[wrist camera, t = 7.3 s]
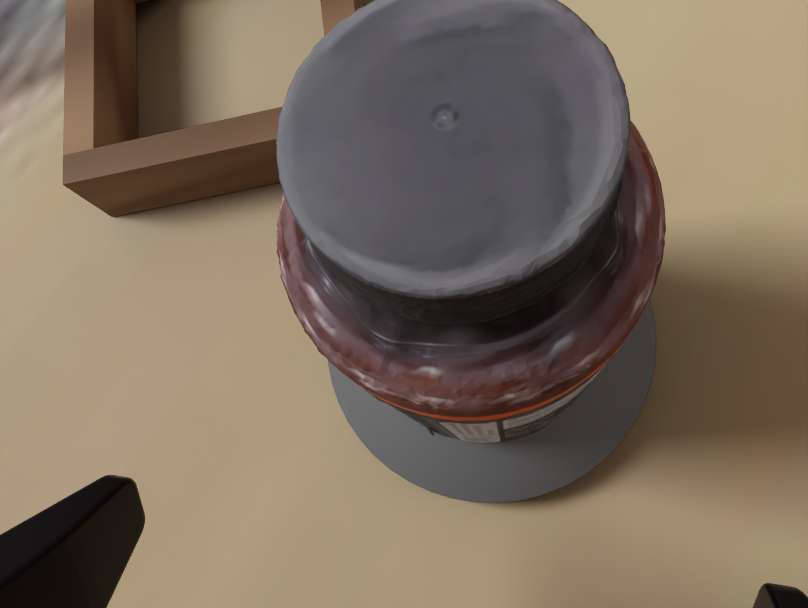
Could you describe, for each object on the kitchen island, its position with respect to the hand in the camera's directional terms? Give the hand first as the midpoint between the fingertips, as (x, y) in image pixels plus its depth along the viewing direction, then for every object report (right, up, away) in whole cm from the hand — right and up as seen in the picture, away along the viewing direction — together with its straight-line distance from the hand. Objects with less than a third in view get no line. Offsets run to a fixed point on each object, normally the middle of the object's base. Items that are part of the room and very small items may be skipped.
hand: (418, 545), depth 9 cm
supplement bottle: (+2, +2, +9) cm, 9 cm away
